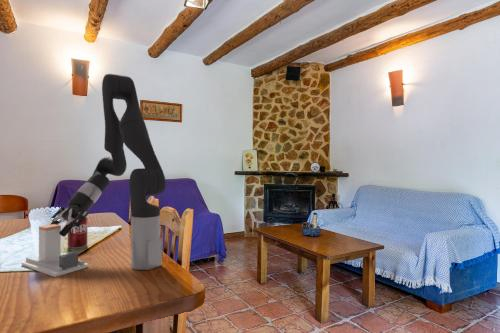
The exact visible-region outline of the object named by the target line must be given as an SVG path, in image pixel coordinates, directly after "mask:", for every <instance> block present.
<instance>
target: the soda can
mask: <svg viewBox="0 0 500 333" xmlns="http://www.w3.org/2000/svg"><path fill="white" fill-rule="evenodd" d="M78 222H79V219H78ZM78 222H77V223H78ZM88 224H89V223H88V217H87V216H86V218H85V219H84V220H83V222H82V223H81V224H80V226H79V227H76V226H75V227H74V228H72V229H71V230H70V231H69V232H68V234H67V248H69V249H72V248H76V249H81V248H80V247H83V248H85V247H87V246H88V237H89V236H88ZM84 246H85V247H84Z"/></svg>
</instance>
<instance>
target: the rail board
mask: <svg viewBox="0 0 500 333" xmlns="http://www.w3.org/2000/svg"><path fill="white" fill-rule="evenodd" d="M21 264H22V265H24V266H23V267H25V266H27V267H29V269H30V268H32V269H31V270H33V269H34V270H33V271H37V272H38V273H42V274H45V275H49V276H51V277H53V278H56V277H59V276H63V275H66V274H69V273H73V272H76V271H79V270H82V269H85V268H89V263H86V262H85V261H83V260H80V259H79V253H78V252H75V251H73V252H70V253H65V254H61V256H59V261H55V262H51V263H45V262H42V261H39V257H37V258H32V257H29V256H28V257H26V258H25V261H22V262H21ZM21 264H20V265H21ZM22 265H21V266H22ZM27 267H26V268H27Z"/></svg>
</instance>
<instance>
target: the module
mask: <svg viewBox="0 0 500 333" xmlns="http://www.w3.org/2000/svg"><path fill="white" fill-rule="evenodd" d="M61 226H62V225H60V224H59V225H56V224H52V225H50V224H46V225H41V226H38V258H39V261H42V262H45V263H51V262H55V261H59V256H61V255H62V254H61V250H62V248H61V247H62V246H61V245H62V242H61V240H62V238H61V237H62V236H61V235H60V234H59V232H60V231H61V230H62V229H61V228H62V227H61Z"/></svg>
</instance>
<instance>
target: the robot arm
mask: <svg viewBox="0 0 500 333" xmlns="http://www.w3.org/2000/svg"><path fill="white" fill-rule="evenodd" d="M101 94H102V105H103V106H102V108H103V116H104V144H103V145H104V150H105V151H107V152H108V153H109V154H110V155H111V156H104V157H102V158H101V159H100V160H99V161H98V162H97V165H96V167H95V169H94V171H93V173H92V175H91V176H90V177H89V179H87V181H85V182H84V183H83V185H81V186H80V187H79V189H78V190H77V191H76V192H75V193H74V194H73V195H72V196H71V197H70V199H69V200H68V206H67V207H64V206H63V205H62V206H61V207H60V208H58V209H57V210H56V212H55V213H54V214H53V215H52V216H51V217H50V219H51V218H54V219H53V220H51V223H50V224H49V225H52V224H56V225H60V224H62V223H65V222H66V224H65V225H64V226H63V228H62V229H61V231H60V232H59V234H60V235H61V237H63V238H64V237H67V236H68V232H69V231H70V230H71V229H72V228H74V227H75V226H76V227H79V226H80V224H81V223H82V222H83V220H84V219H85V218H86V217H87V216H88V215H89V211H90V209H91V208H92V207H93V205H94V204H95V203H96V202H97V201H98V200H99V198H100V196H101V195H102V194H103V192H104V191H105V190H106V189H107V188H108V186H109V185H110V179H109V178H108V176H107V175H111V176H115V177H121V176H123V175H124V174H125V172H126V170H127V165H128V164H127V158H126V154H125V150H124V145H125V147H126V148H127V149H128V150H129V151H131V153H132V154H134V156H136V157H137V158H138V159H139V161H141V163H142V165H143V167H144V168H134V169H133V170H132V171H131V173H130V175H129V183H128V184H129V199H130V200H129V204H130V211H131V224H130V225H131V230H130V231H131V232H130V233H131V234H130V235H131V238H130V241H131V242H130V243H131V244H130V246H131V248H130V259H131V260H130V261H131V263H130V266H131V268H132V269H133V270H138V271H139V270H140V271H142V270H143V271H144V270H145V271H150V270H152V269H155V268H158V267H160V266H162V265H163V264H162V263H163V262H162V260H163V258H162V256H163V255H162V254H163V253H162V252H163V250H162V249H163V246H162V245H163V240H162V239H163V238H162V237H160V235H161V234H160V230H161V228H160V227H161V223H160V222H161V208H160V207H159V206H158V205H156V204H155V205H154V204H152V203H149V202H148V201H147V196H157V195H161V194H163V193H164V191H165V189H166V185H167V184H166V176H165V173H164V171H163V169H162V166H161V164H160V161H159V160H158V158H157V156H156V153H155V151H154V148H153V145H152V141H151V139H150V135H149V131H148V128H147V125H146V122H145V120H144V117H143V114H142V110H141V108H140V104H139V99H138V94H137V89H136V86H135V83H134V80H133V79H132V78H131V77H130V76H127V75H121V74H115V73H106V74H104V76H103V78H102V82H101ZM114 99H115V100H123V101H124V102H125V105H126V108H125V111H124V112H123V114H122V116H121V118H120V119H119V117H118V115H117V113H116V111H115V108H114ZM58 219H60V220H59V221H57V220H58ZM78 219H79V222H78ZM77 222H78V223H77Z"/></svg>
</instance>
